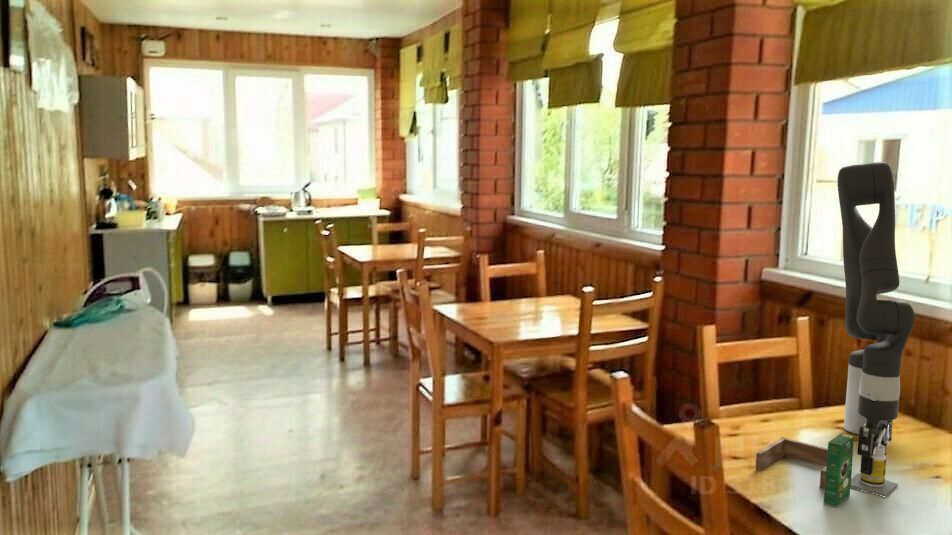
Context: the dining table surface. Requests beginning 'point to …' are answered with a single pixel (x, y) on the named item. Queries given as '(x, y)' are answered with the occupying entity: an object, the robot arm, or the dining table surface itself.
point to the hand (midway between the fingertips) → (873, 467)
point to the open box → (793, 455)
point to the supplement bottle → (876, 469)
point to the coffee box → (838, 469)
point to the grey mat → (882, 490)
